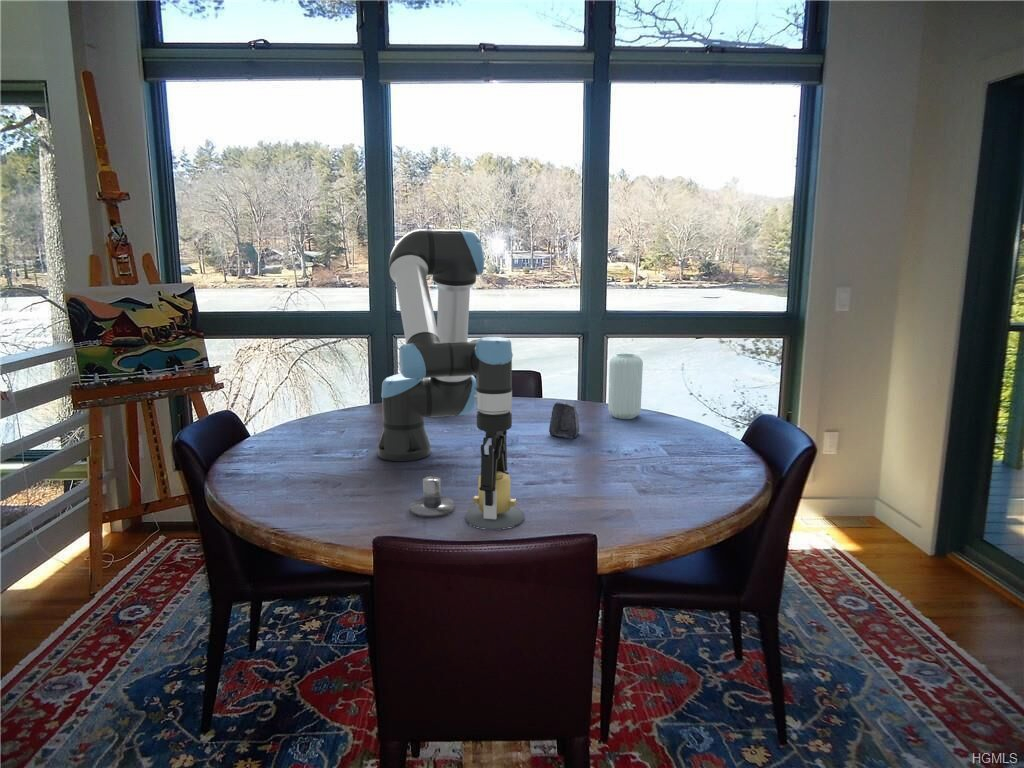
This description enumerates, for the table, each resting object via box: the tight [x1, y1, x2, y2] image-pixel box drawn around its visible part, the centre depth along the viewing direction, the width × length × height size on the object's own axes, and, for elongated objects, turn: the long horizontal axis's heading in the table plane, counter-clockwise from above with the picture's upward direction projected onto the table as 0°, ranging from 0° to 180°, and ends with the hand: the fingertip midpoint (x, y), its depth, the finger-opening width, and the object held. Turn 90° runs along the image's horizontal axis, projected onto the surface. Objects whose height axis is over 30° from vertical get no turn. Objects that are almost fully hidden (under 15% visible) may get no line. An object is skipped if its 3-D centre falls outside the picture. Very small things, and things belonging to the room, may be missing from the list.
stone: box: [548, 401, 580, 439], centre depth 209 cm, size 12×10×10 cm
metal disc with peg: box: [409, 475, 455, 519], centre depth 148 cm, size 10×10×7 cm
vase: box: [607, 352, 644, 420], centre depth 231 cm, size 12×12×22 cm
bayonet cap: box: [472, 471, 517, 514], centre depth 143 cm, size 7×9×8 cm
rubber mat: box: [464, 504, 525, 530], centre depth 144 cm, size 13×13×1 cm
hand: (494, 511), depth 144 cm, fingers closed on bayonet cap, 7 cm apart
